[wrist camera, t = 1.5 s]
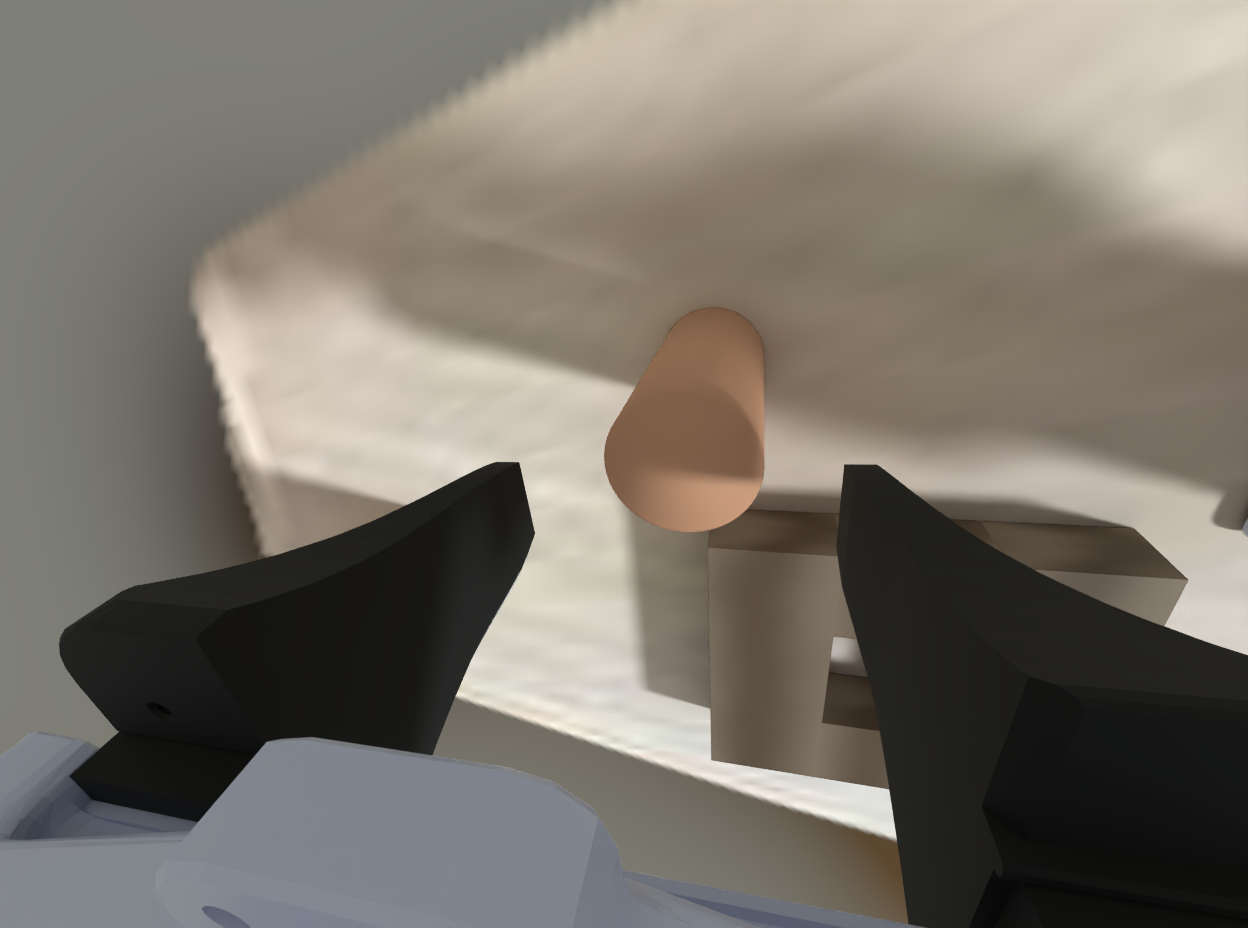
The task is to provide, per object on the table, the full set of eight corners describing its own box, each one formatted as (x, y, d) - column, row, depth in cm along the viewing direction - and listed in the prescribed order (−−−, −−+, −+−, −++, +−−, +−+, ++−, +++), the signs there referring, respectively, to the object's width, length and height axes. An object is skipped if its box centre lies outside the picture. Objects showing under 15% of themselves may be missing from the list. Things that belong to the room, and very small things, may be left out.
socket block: (1134, 528, 20) (1188, 579, 18) (1034, 756, 27) (1063, 817, 24) (713, 508, 24) (707, 547, 21) (715, 711, 30) (711, 760, 28)
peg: (766, 304, 19) (767, 389, 12) (762, 406, 21) (761, 536, 14) (659, 309, 20) (595, 390, 13) (664, 405, 22) (612, 527, 14)
